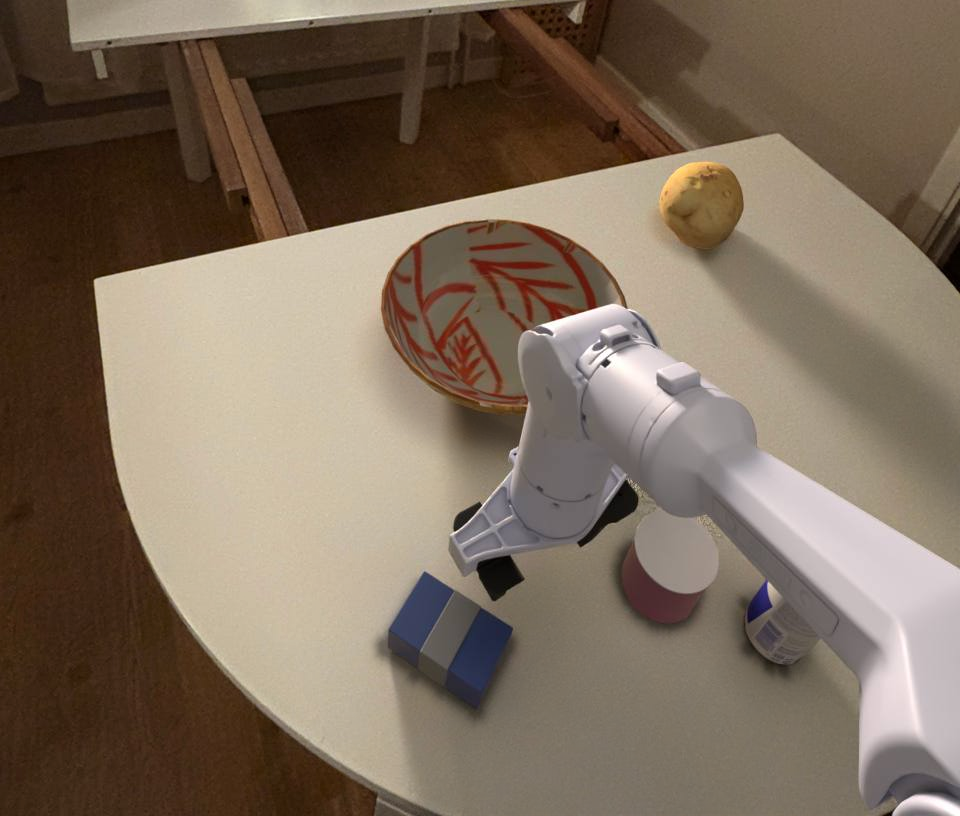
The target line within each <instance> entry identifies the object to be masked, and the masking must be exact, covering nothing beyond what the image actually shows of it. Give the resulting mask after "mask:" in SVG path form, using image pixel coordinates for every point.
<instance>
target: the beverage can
mask: <svg viewBox="0 0 960 816" xmlns="http://www.w3.org/2000/svg"><path fill="white" fill-rule="evenodd" d="M743 621H744V622H743V623H744V629H745V632H746V635H747V637H748V639H749V641H750V643H751V644H752V646H753V647H754V648H755V650H757V651H758V653H759V654H760V655H762V656H763V657H764V658H766V659H767V660H769V661H770V662H773V663H775V664H779V665H793V664H796V663H798V662H799V661H800V660H802V659H803V658H805V656H806V655H807V654H808V653H809V652H810V651H811V650H812V649H813V648H814V647H815V645H817V643H818V642H819V641H820V640H822V639H821V638H820V637H819V636H818V635H817V633H816V632H815V631H814V630H813V629H812V628H811V627H810V626H809V625H808V624H807V623H806V622H805V620H804V619H803V618H802V617H801V616H800V615H799V614H798V613H797V612H796V611H795V610H794V609H793V608H792V606H791V605H790V604H789V603H788V602H787V601H786V600H785V599H784V598H783V597H782V596H781V595H780V593H779V592H778V591H777V590H776V589H775V588H774V587H773V586H772V585H771V584H770V583H769V582H768V581H767V579H765V581H764V582H763V583H762V585H761V586H760V587H759V589H758V591H757V592H756V594H755V595H754V596H753V598H751V600H750V602H749V603H748V604H747V607H746V609H745V612H744V617H743Z"/></svg>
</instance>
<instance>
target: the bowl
mask: <svg viewBox="0 0 960 816" xmlns="http://www.w3.org/2000/svg"><path fill="white" fill-rule="evenodd" d="M380 301H381V303H380V312H381V317H382V323H383V327H384V330H385V333H386V335H387V337H388V339H389V342H390V343H391V345H392V347H393V349H394V351H395V352H396V353H397V354H398V355H399V357H400V358H401V359H402V361H403V362H404V363H405V364H406V366H407V367H408V368H409V369H410V371H412V373H413V374H415V375H416V376H417V377H418V378H419V379H420V380H421V381H423V382H424V383H425V384H426V385H427V386H428V387H429V388H431V389H432V390H433V391H434V392H436V393H438V394H440V395H442V396H443V397H445V398H446V399H448V400H450V401H451V402H453V403H456V404H458V405H461V406H463V407H466V408H470V409H473V410H475V411H480V412H484V413H490V414H496V415H500V416H502V415H503V416H505V415H506V416H507V415H508V416H510V415H511V416H513V415H514V416H517V415H518V416H521V415H522V416H526V412H527V407H528V403H529V400H528V398H527V395H526V392H525V389H524V386H523V383H522V379H521V375H520V370H519V363H518V344H519V340H520V337H521V335H522V334H523V333H524V332H525V331H528V330H531V331H533V329H534V328H535V327H537V326H539V325H542V324H546V323H549V322H552V321H556V320H559V319H563V318H566V317H569V316H573V315H576V314H579V313H583V312H586V311H589V310H593V309H596V308H600V307H603V306H607V305H610V304H618V305H621V306H623V307H624V308H626V309H629V308H628V304H627V299H626V297H625V295H624V293H623V291H622V289H621V286H620V285H619V283H618V281H617V279H616V278H615V276H614V275H613V274H612V273H611V271H610V270H609V269H608V268H607V266H606V265H605V264H604V263H603V262H602V261H601V260H600V259H599V258H597V256H595V255H594V254H593V253H592V252H591V251H590V250H589V249H588V248H586V247H584V246H582V245H581V244H580V243H578V242H576V241H575V240H573V239H571V238H570V237H568V236H565V235H563V234H561V233H559V232H557V231H555V230H553V229H550V228H547V227H543V226H541V225H538V224H533V223H530V222H525V221H519V220H514V219H513V220H512V219H502V218H501V219H500V218H484V219H483V218H482V219H473V220H464V221H460V222H456V223H453V224H448V225H444V226H443V227H441V228H437V229H435V230H433V231H431V232H429V233H426V234H425V235H424V236H422V237H420V238H419V239H418V240H416V241H414V242H413V243H411V244H409V246H408V247H407V248H406V249H405V250H404V251H403V252H401V254H400V255H399V256H398V257H397V258H396V260H395V262H394V263H393V265H392V266H391V268H390V269H389V271H388V272H387V274H386V277H385V280H384V283H383V287H382V290H381V300H380Z"/></svg>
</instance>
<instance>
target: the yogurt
mask: <svg viewBox="0 0 960 816" xmlns="http://www.w3.org/2000/svg"><path fill="white" fill-rule="evenodd" d="M719 568H720V555H719V550H718V547H717V543H716V541H715V539H714V538H713V536H712V534H711V532H710V531H709V530H708V529H707V527H706V526H705V525H704V524H703V523H702V522H701V521H699V520H698V519H697V517H693V518H681V517H676V516H673V515H671V514H669V513H667V512H665V511H664V510H663V509H662V508H658V509H656V510H653V511H651V512H649V513H648V514H646V515H645V516H644V517H643V518H642V519H641V520H640V522H639V523H638V526H637V527H636V530H635V533H634V538H633V541H632V543H631V545H630V547H629V550H628V551H627V554H626V556H625V558H624V561H623V564H622V567H621V573H620V575H621V585H622V588H623V591H624V593H625V595H626V598H627V599H628V601H629V603H630V604H631V605H632V606H633V608H634V609H635V610H636V611H637V612H638V613H639V614H640V615H642V616H644V617H645V618H647V619H649V620H650V621H652V622H656V623H661V624H674V623H679V622H680V621H682V620H685V619H686V618H687V617H688V616H690V614H691V613H692V612H693V610H694V608H696V607H695V606H696V605H697V604H698V602H699V600H700V599H701V597H702V596H703V594H704V593H705V590H706V589H707V588H708V587H710V586H711V585H712V583H713V582H714V581H715V579H716V577H717V575H718V573H719Z"/></svg>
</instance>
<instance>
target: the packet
mask: <svg viewBox="0 0 960 816" xmlns="http://www.w3.org/2000/svg"><path fill="white" fill-rule="evenodd" d="M513 632H514V627H513V626H511V625H509V624H508V623H507V622H505V621H503V620H502V619H500V617H499V618H498V617H497V616H496V615H494V614H492V613H491V612H489V611H488V610H486V609H485V608H483V607H482V605H480V604H478V603H477V602H475V601H474V600H473V599H471V598H470V597H467V596H466V595H464V594H463V593H461V592H460V591H458V590H457V589H454V588H452V587H450V586H449V585H447V584H446V583H444V582H443V581H441V580H440V579H438V578H437V577H435V576H433V575H432V574H431V573H428V572H427V571H425V570H423V572H422V574H421V575H420V577H419V578H418V580H417V582H416V584H415V585H414V587H413V589H412V590H411V591H410V593H409V595H408V597H407V598H406V600H405V601H404V603H403V605H402V607H401V608H400V610H399V611H398V612H397V615H396V616H395V618H394V619H393V621H392V623H391V624H390V625H389V628H388V631H387V633H388V634H387V649H389V650H390V651H392V652H393V653H394V654H396V655H397V656H399V658H402V659H403V660H404V661H406V662H407V663H409V664H410V665H411V666H413V667H415V668H416V669H417V670H418V671H419V672H420V673H422V674H423V675H424V676H426V677H427V678H429V679H431V680H432V681H433V682H434V683H436V684H438V685H439V686H441V688H445V689H447V690H448V691H449V692H451V693H452V694H454V695H455V696H457V697H458V698H459V699H461V700H462V701H463V702H465V703H467V704H468V705H470V706H471V707H473V709H475V710H478V709H479V707H480V705H481V703H482V702H483V699H484V697H485V695H486V693H487V691H488V689H489V687H490V685H491V683H492V681H493V679H494V676H495V675H496V672H497V670H498V668H499V666H500V664H501V662H502V661H503V658H504V656H505V654H506V652H507V650H508V648H509V645H510V642H511V638H512V635H513Z"/></svg>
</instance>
